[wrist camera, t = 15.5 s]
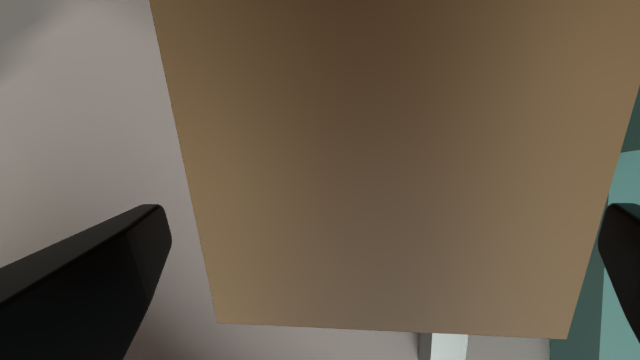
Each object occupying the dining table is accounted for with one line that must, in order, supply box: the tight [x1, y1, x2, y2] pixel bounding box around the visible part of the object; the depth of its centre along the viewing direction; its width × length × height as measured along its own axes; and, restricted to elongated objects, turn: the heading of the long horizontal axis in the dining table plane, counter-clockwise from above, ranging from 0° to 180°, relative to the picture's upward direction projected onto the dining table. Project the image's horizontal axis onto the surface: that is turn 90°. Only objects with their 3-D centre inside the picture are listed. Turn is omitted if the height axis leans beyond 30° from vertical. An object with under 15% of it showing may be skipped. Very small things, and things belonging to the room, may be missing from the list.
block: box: [149, 0, 640, 339], centre depth 9 cm, size 6×6×6 cm
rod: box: [550, 86, 640, 360], centre depth 13 cm, size 3×12×4 cm, turn 13°
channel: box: [418, 332, 468, 360], centre depth 14 cm, size 11×5×3 cm, turn 94°
